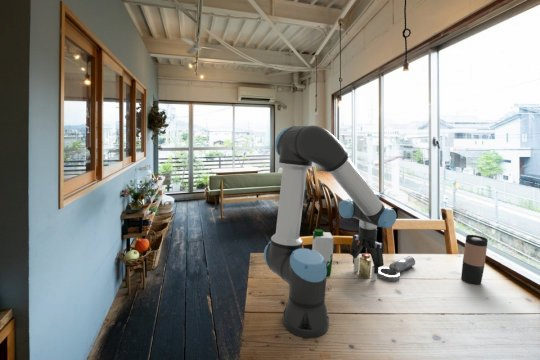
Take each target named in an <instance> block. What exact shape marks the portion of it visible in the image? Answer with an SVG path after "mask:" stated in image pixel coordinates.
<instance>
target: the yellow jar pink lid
mask: <svg viewBox="0 0 540 360" xmlns="http://www.w3.org/2000/svg"><path fill="white" fill-rule="evenodd" d="M371 271H372V258H371V254H368V253H361V257H359V271H358V276H359V277H360V278H362V279H370V278H371Z"/></svg>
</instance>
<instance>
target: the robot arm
mask: <svg viewBox="0 0 540 360" xmlns="http://www.w3.org/2000/svg"><path fill="white" fill-rule="evenodd" d="M274 148H275V151H276V153H277V155H278V157H279V158H278V159H279V160H278V164H279V165H280V167H281V168H282V172H281V178H280V179H281V181H280V182H281V183H280V191H279V199H278V207H277V208H278V209H277V219H276V227H275V228H276V229H275V233H274V234H273V235H272V236H271V237H270V240H269V241H268V244H267V245H266V246H265V248H264V250H263V260H264V262H265V264H266V266H267V267H268V268H269V269H270V271H272V272H273V273H274V274H276V275H277V276H278V277H280V278H281V279H282V280H284V281H285V282H286V283H287V284H288V287H289V288H288V289H289V290H288V300H287V303H286V306H285V308H284V309H283V310H284V311H283V313H282V324H283V326H284V327H285V329H286V330H287V331H289V333H291V334H293V335H295V336H297V337H300V338H305V339H307V338H308V339H313V338H318V337H321V336H323V335H324V334H325V333H326V332H328V330H329V326H330V316H329V314H328V311H327V306H326V301H325V300H326V286H327V276H326V275H327V269H326V260H325V258H324V257H323V256H322V255H321V254H320V253H318V252H316V251H314V250H312V249H309V248H305V247H304V248H303V243H304V240H303V239H302V238H301V237H300V233H301V232H300V231H301V223H302V213H303V207H304V199H305V198H304V197H305V187H306V180H307V172H308V170H309V169H311V168H312V165H313V163H314V164H315V165H317V166H319V167H320V168H321V169H322V170H323V171H324V172H325V173H329V174H330V175H331V176H332V177H333V178H334V179H335V180H336V182H337V184H338V185H339V186H340V187H341V188H342V189H343V190H344V191H345V193H346V194H347V195H348V197H349V198H348V199H344V200H341V201H340V202H339V204H338V214H339V215H340V216H341V217H342V218H343V219H356V220H359V224H358V225H359V227H358V234H354V235H352V243H351V246H350V251H349V256H351V257H352V264H353V273H356V272H359V265H360V257H359V255H360V253H361V252H362V250H363V248H366V249H367V250H368V252H369V253H370V254H369V255H370V258H371V262H372V263H373V264H372V265H371V275H370V278H371V279H370V280H371V281H376V280H377V276H378V275H377V273H378V272H379V268H380V267H384V265H385V263H384V255H383V246H384V244H383V243H382V242H378V241H377V237H378V236H377V234H378V229H377V228H378V227H379V228H383V229H390V228H392V227H393V226H394V225H395V223H396V221H397V213H396V211H395V209H393V208H390V207H388V206H385V204H383V203H382V201H381V200H380V194H379V193H378V192H376V191H373V189H372V188H371V187H370V185H369V184H368V182H367V181H366V180H365V177H363V176H362V174H361V173H360V172H359V171H358V169H357V168H356V166H355V165H354V163H353V162H352V161H351V159H350V158H349V157H350V154H349V152H348V150H347V149H346V148H345V146H344V145H343V143H341V142H340V140H339V139H338V138H337V137H336V136H335V135H334V134H332V133H331V132H330V131H328V130H327V129H326V128H324V127H322V126H318V125H293V126H290V127H286V128H285V127H284V129H282V130H281V131H280V132H279V133H278V134H277V137H276V138H275V144H274Z"/></svg>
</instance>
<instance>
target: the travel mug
mask: <svg viewBox="0 0 540 360" xmlns="http://www.w3.org/2000/svg"><path fill="white" fill-rule="evenodd" d="M488 241H489V240H488V238H487V237H483V236H482V235H476V234H466V236H465V243H464V249H463V256H462V258H463V259H462V265H461V277H460V278H461V280H462V282H464V283H466V284H469V285H472V286H480V285H481V284H482V281H483V275H484V270H485V264H486V257H487V248H488Z"/></svg>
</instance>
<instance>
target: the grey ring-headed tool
mask: <svg viewBox="0 0 540 360" xmlns="http://www.w3.org/2000/svg"><path fill="white" fill-rule="evenodd" d="M415 265H416V260H415V258H414V257H413V256H411V255H410V256H409V255H408V256H407V257H404V258H401V259H399V260H397V261H395V262H393V263H390V264H389V267H387V266H381V267H379V272H378V273H377V276H378V278H380V279H382V280H384V281H388V282H397V281H399V280H400V275H401V274H400V273H401V272H403V271H405V270H407V269H409V268H411V267H414V266H415ZM386 273H388V274H386ZM389 274H390V275H389Z"/></svg>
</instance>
